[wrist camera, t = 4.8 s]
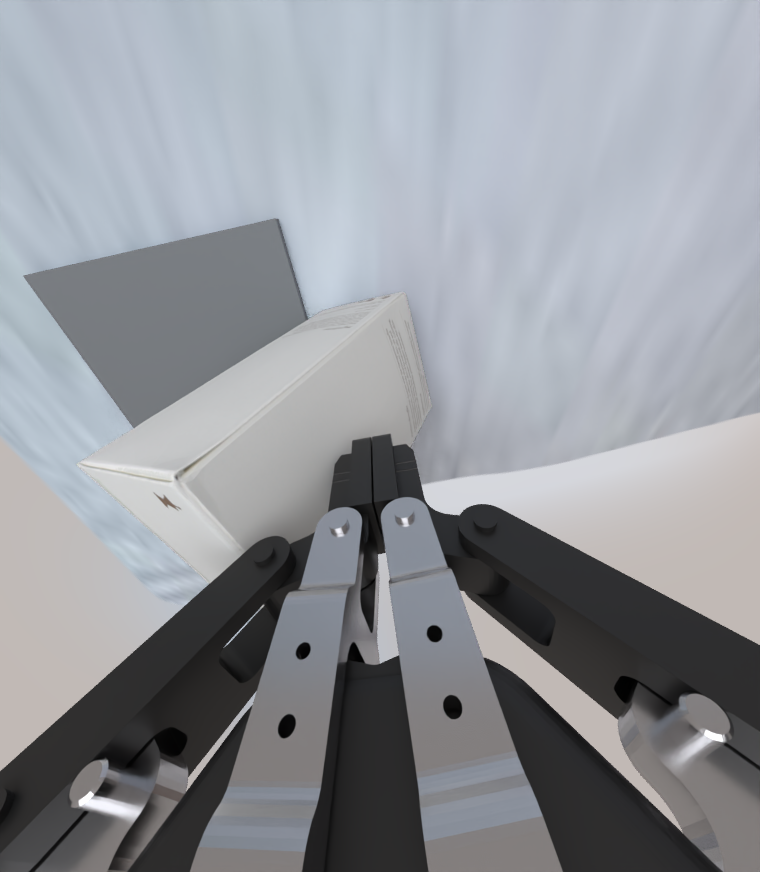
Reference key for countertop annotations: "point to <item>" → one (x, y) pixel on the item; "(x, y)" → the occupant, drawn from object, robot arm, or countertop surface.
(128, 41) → the countertop surface
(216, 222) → the countertop surface
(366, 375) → the skincare box
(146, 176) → the countertop surface
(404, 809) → the robot arm
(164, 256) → the mat
